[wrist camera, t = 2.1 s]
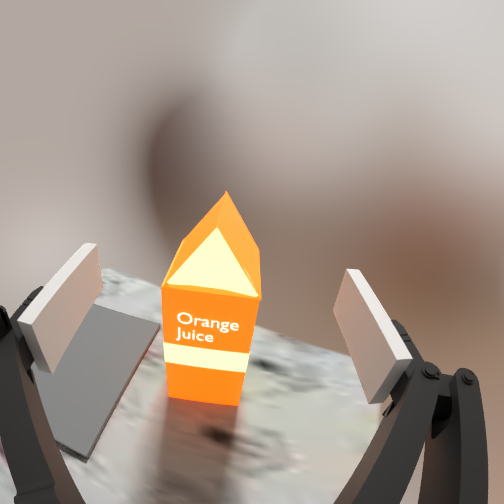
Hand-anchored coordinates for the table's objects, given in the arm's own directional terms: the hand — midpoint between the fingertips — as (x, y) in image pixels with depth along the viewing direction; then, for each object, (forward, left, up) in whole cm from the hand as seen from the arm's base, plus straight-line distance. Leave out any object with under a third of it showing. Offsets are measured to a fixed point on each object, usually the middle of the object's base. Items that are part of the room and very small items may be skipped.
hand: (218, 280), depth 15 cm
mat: (-17, +5, -19) cm, 26 cm away
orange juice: (-2, +10, -20) cm, 22 cm away
